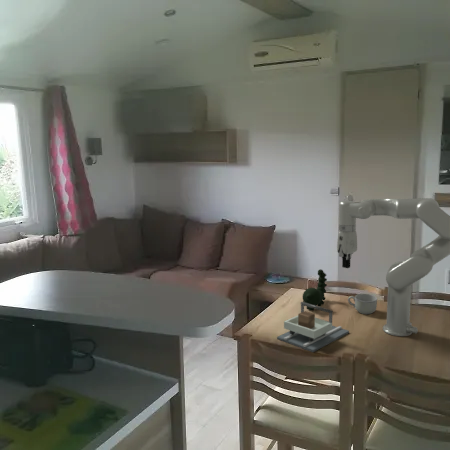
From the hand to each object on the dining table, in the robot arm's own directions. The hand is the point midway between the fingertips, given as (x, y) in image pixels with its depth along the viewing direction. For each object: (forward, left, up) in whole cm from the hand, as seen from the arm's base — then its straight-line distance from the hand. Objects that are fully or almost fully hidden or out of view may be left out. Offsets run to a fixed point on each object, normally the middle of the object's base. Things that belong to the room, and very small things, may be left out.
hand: (346, 267), depth 218 cm
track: (+2, +22, -27) cm, 35 cm away
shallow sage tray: (+2, +26, -25) cm, 36 cm away
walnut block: (+2, +27, -21) cm, 35 cm away
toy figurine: (+24, -10, -27) cm, 38 cm away
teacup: (+2, -19, -27) cm, 33 cm away
